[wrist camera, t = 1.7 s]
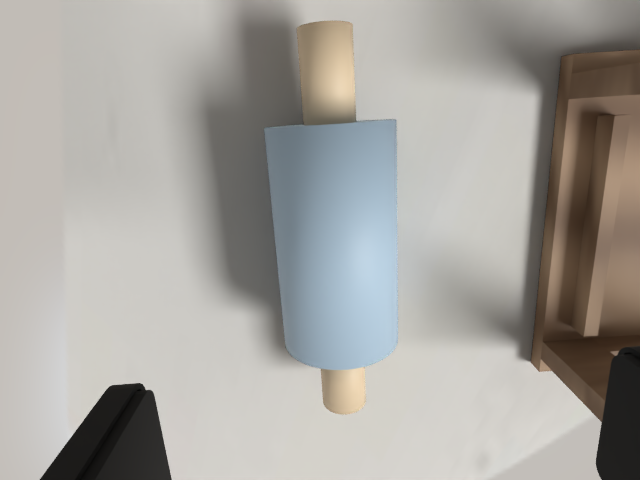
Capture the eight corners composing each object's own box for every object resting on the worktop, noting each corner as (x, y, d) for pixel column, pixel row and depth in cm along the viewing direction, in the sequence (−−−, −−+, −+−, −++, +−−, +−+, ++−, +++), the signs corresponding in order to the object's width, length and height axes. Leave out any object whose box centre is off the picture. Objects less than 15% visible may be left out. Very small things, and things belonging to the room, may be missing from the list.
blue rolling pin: (266, 43, 21) (240, 16, 15) (386, 35, 20) (407, 3, 15) (295, 369, 26) (285, 441, 20) (390, 366, 26) (407, 437, 20)
